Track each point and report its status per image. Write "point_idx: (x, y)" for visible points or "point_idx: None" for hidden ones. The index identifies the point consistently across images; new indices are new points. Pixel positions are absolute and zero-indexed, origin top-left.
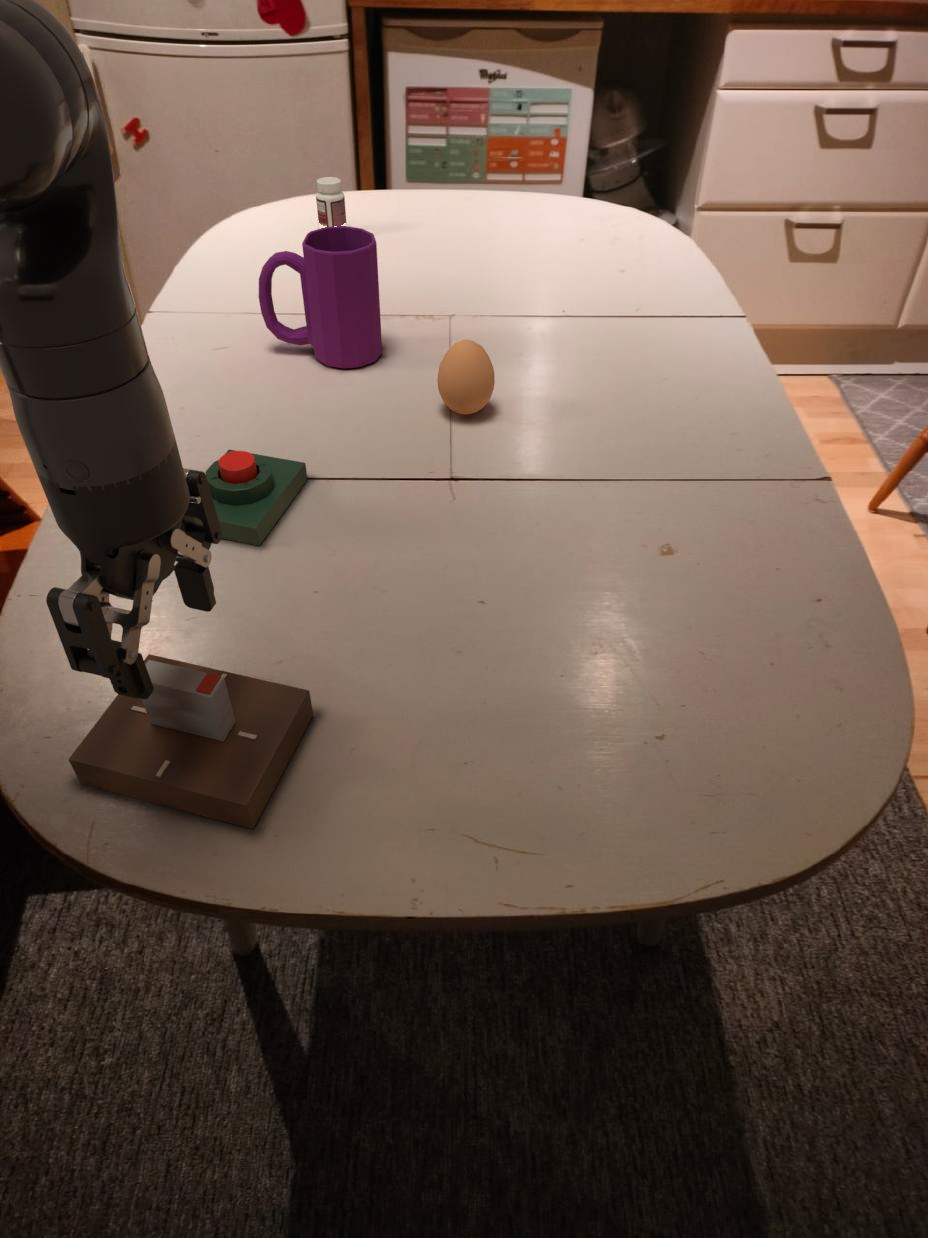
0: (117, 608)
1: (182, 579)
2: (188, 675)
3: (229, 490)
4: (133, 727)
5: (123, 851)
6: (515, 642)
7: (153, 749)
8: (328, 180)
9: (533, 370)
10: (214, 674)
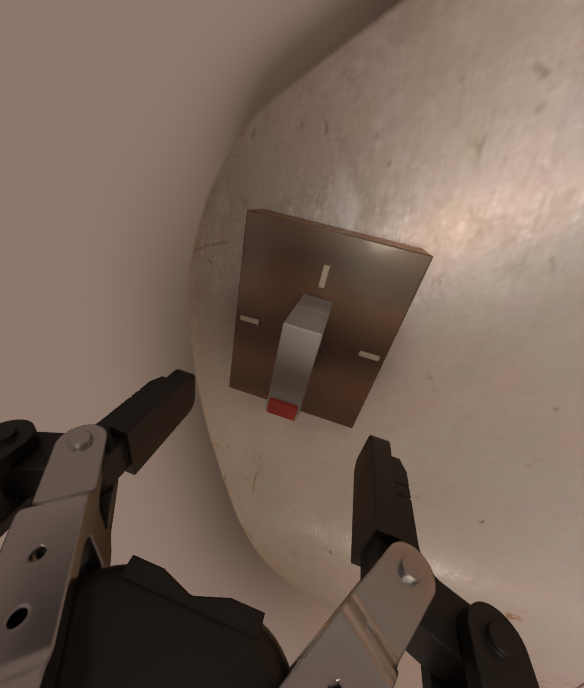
0: (84, 547)
1: (369, 503)
2: (295, 386)
3: None
4: (298, 274)
5: (207, 278)
6: (423, 526)
7: (271, 304)
8: None
9: None
10: (294, 415)
